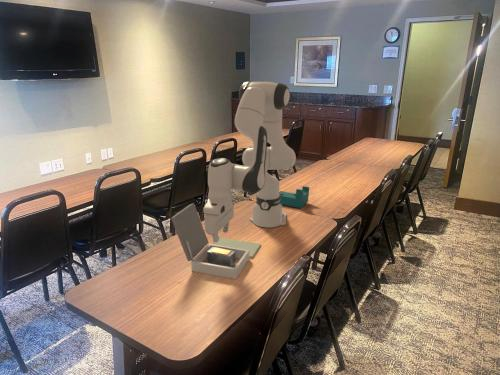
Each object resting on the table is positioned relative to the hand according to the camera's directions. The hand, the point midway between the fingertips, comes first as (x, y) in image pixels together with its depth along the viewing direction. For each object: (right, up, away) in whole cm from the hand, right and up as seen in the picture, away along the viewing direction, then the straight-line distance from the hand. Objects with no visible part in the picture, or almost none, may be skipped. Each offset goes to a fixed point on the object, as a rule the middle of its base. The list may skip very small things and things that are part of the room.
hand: (220, 236), depth 136 cm
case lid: (-12, +2, +4) cm, 12 cm away
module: (0, -12, +4) cm, 13 cm away
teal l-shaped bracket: (+35, +9, +73) cm, 81 cm away
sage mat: (+5, -8, +18) cm, 20 cm away
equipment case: (-1, -12, +5) cm, 13 cm away
